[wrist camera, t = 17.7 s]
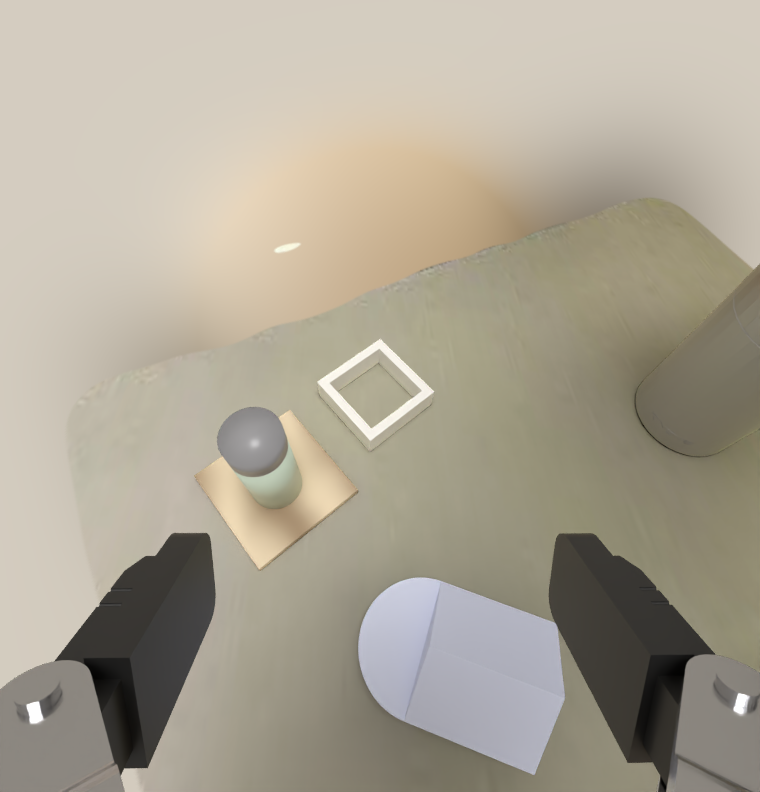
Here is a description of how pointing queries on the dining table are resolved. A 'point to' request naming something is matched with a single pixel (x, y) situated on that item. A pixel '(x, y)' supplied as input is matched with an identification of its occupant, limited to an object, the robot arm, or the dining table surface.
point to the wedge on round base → (464, 668)
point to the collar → (356, 368)
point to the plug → (261, 456)
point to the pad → (283, 527)
